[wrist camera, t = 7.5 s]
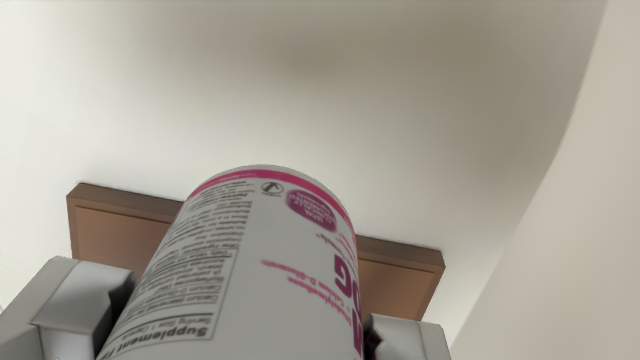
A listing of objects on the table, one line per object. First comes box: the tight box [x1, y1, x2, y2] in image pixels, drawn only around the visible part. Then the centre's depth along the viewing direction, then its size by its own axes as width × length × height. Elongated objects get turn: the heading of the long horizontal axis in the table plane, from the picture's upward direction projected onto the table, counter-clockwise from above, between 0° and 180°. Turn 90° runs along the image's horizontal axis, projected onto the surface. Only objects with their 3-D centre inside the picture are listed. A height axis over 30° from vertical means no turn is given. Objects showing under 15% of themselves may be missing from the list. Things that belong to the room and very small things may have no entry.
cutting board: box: [66, 183, 446, 333], centre depth 31 cm, size 24×14×2 cm, turn 78°
